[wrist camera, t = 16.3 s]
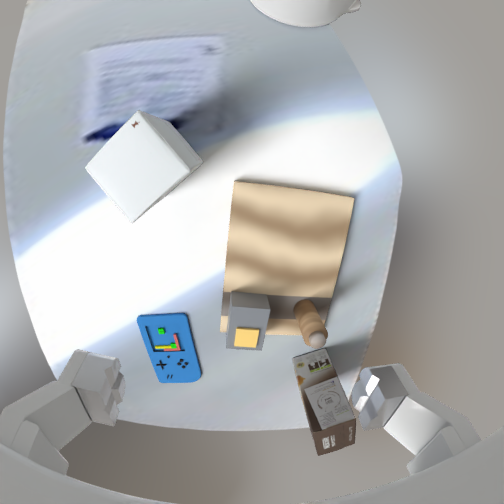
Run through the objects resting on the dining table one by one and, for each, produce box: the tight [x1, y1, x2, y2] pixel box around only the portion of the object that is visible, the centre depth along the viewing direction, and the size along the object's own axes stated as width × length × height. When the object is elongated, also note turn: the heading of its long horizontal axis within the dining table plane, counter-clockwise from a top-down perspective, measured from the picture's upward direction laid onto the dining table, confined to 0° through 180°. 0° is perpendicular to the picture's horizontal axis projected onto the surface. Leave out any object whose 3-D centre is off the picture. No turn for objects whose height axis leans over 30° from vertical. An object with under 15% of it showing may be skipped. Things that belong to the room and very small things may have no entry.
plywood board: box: [220, 181, 354, 335], centre depth 39 cm, size 22×16×1 cm
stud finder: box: [226, 291, 270, 350], centre depth 38 cm, size 7×5×4 cm
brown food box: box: [292, 348, 356, 456], centre depth 40 cm, size 9×6×16 cm
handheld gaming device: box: [137, 313, 201, 383], centre depth 43 cm, size 8×1×15 cm
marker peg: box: [293, 299, 328, 349], centre depth 37 cm, size 3×3×8 cm
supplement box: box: [85, 110, 203, 223], centre depth 27 cm, size 7×7×13 cm
